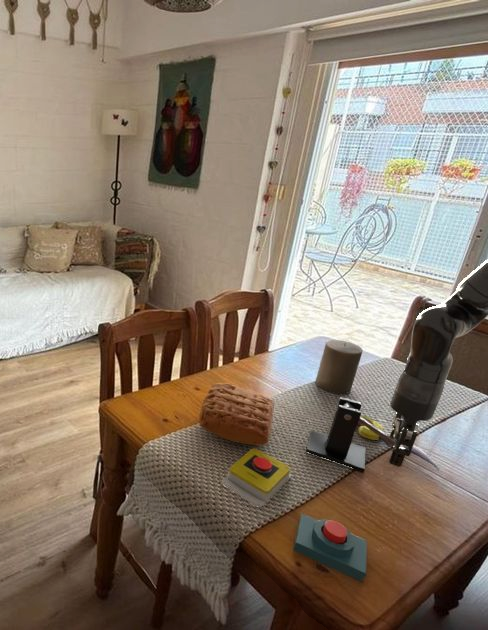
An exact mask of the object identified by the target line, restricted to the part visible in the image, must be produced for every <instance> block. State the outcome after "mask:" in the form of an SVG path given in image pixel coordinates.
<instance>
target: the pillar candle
mask: <svg viewBox="0 0 488 630" xmlns="http://www.w3.org/2000/svg"><path fill="white" fill-rule="evenodd" d="M363 351H364V350H363V347H361V346H360V345H358V344H356V343H354V342H351V341H348V340H344V339H343V340H342V339H329V340H327V341H325V344H324V348H323V353H322V354H321V355H322V356H321V359H320V362H319V365H318V369H317V374H316V376H315V381H314V382H315V384H316V386H318V388H321V389H322V390H324V391H326V392H328V391H330V392H329V393H332V392H334V393H333V394H336V393H342V394H341V395H345V394H344V393H347V392H349V393H351V391H352V387H353V384H354V381H355V379H356V375H357V371H358V368H359V364H360V362H361V358H362V355H363ZM347 394H348V393H347Z"/></svg>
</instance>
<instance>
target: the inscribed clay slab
mask: <svg viewBox="0 0 488 630" xmlns="http://www.w3.org/2000/svg"><path fill="white" fill-rule="evenodd" d="M274 409H275V403H274V401H273V400H272V399H270V398H269V397H268V396H266V395H264V394H261V393H258V392H255V391H253V390H250V389H248V388H245V387H241V386H238V385H233V384H230V383H220V382H216V383H213V384H212V385H211V387H210V388H209V390H208V391H207V394H206V395H205V397H204V400H203V402H202V404H201V407H200V412H199V421H198V423H199V426H200V427H201V429H204V430H205V431H207V432H209V433H212V434H214V435H216V436H219V437H221V438H222V439H225V440H228V441H231V442H234V443H239V444H243V445H244V444H245V445H251V446H264V445H267V444H268V442H269V440H270V437H271V433H272V427H273V416H274Z"/></svg>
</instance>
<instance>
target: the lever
mask: <svg viewBox="0 0 488 630" xmlns="http://www.w3.org/2000/svg"><path fill="white" fill-rule="evenodd" d="M343 406H345V407H349V408H352V409H356V408H355V407H353V406H352V405H350V404H349V403H348V402H346V403H345V404H344V405H343ZM356 410H358V409H356ZM359 422H360V423H361V424H363V425H364V426H365V427H367V428H368V429H370V430H371V431H373V432H374V433H375V434H377V435H378V436H380V437H381V438H383V439H384V440H386V441H387V442H388V443H390V444H391V445H393V446H394V444H395V439H393V438H391V437H390V434H389V435H388V434H387V433H386V432H384V430H383V431H381V430H380V429H378V428H377V427H376V426H374V425H373V424H371V423H370V422H368V421H367V420H365V419H364V418H363V417H361V416H360V419H359ZM393 446H392V447H393ZM400 447H403V446H402V445H400Z"/></svg>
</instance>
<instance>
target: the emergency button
mask: <svg viewBox="0 0 488 630" xmlns="http://www.w3.org/2000/svg"><path fill="white" fill-rule="evenodd" d="M291 478H292V473H291V468H290V466H288V465H287V464H286V463H283V462H282V461H280V460H278V459H276V458H274V457H273V456H270V455H269V454H267V453H265V452H263V451H262V450H260V449H258V448H255V447H254V448H251V449H250V450H249V451H248V452H247V453H245V454H244V455H243V456H242V457H240V458H239V459H237V461H235V462H234V463H233V464H232V465H231V466H230V467H229V469H228V473H227V475H226V476H225V477H224V478H222V480H221V484H222V483H223V484H224V485H225V486H226V487H228V488H229V489H231V490H232V491H234V492H235V493H236V494H238V495H240V496H242V497H243V498H245V499H246V500H247V501H249V502H250V503H252V504H253V505H255V506H258V507H262V506H263V507H265V505H266V504H267V503H268V502H269V501H270V500H271V499H272V498H273V497H274V496H275V495H276V494H277V493H278V492H279V491H280V490H281V489H282V488H283V487H284V486H285V485H286V484H287V483H288V482H289V481H290V480H289V479H291ZM288 480H289V481H288ZM287 481H288V482H287ZM286 482H287V483H286ZM285 483H286V484H285ZM284 484H285V485H284ZM283 485H284V486H283ZM282 486H283V487H282ZM281 487H282V488H281ZM280 488H281V489H280ZM279 489H280V490H279ZM278 490H279V491H278ZM277 491H278V492H277ZM276 492H277V493H276ZM275 493H276V494H275ZM236 494H235V495H236ZM274 494H275V495H274ZM238 495H237V496H238ZM273 495H274V496H273ZM272 496H273V497H272ZM271 497H272V498H271ZM270 498H271V499H270ZM269 499H270V500H269ZM268 500H269V501H268ZM247 501H246V502H247ZM267 501H268V502H267ZM266 502H267V503H266ZM250 503H249V504H250ZM265 503H266V504H265ZM253 505H252V506H253ZM255 506H254V507H255ZM263 507H262V508H263Z"/></svg>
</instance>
